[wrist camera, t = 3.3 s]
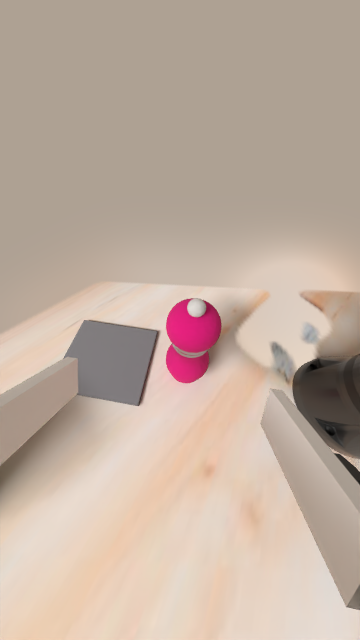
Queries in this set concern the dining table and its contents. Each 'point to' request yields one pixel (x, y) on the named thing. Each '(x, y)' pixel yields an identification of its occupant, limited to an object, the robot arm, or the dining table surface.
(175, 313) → the pepper mill
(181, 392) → the dining table surface
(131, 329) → the rubber mat
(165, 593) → the dining table surface
